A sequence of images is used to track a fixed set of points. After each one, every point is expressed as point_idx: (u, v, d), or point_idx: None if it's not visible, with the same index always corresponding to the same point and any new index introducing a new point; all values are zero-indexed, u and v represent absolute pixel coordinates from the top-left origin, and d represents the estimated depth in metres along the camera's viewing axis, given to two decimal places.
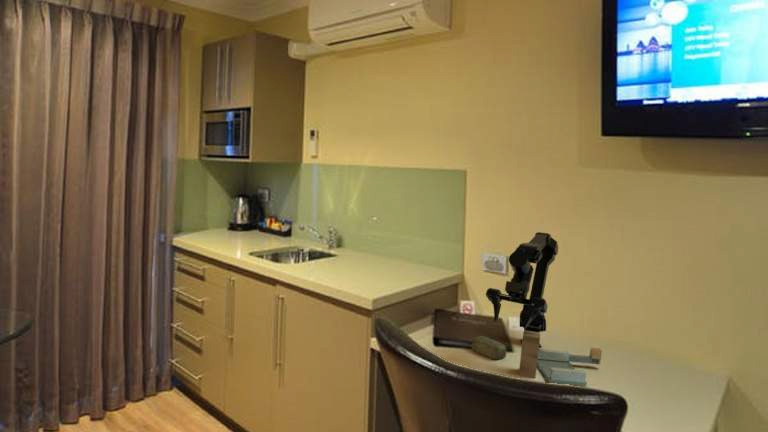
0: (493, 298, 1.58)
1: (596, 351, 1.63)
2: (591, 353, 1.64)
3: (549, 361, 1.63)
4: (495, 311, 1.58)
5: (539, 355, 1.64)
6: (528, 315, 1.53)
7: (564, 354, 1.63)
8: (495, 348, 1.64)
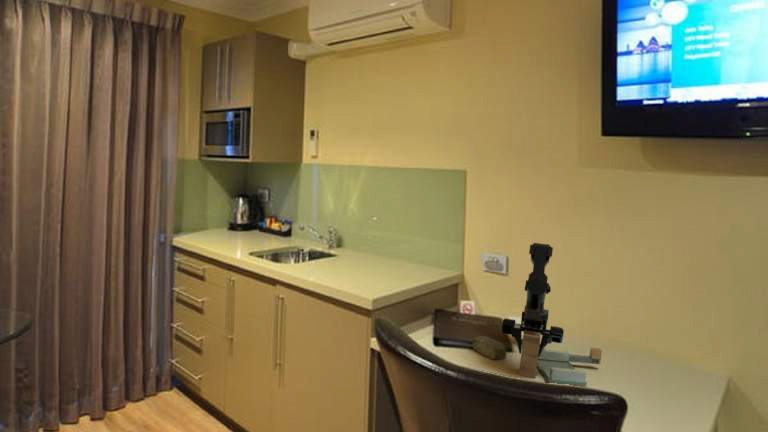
0: (517, 329, 1.57)
1: (596, 351, 1.63)
2: (591, 353, 1.64)
3: (549, 361, 1.63)
4: (519, 342, 1.55)
5: None
6: (542, 343, 1.54)
7: (564, 354, 1.63)
8: (494, 348, 1.64)
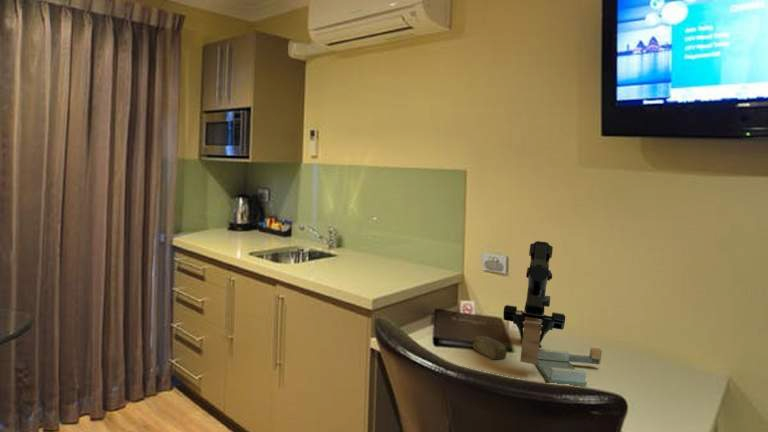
0: (518, 315, 1.56)
1: (596, 351, 1.63)
2: (591, 353, 1.64)
3: (549, 361, 1.63)
4: (521, 328, 1.55)
5: (539, 355, 1.64)
6: (543, 329, 1.53)
7: (564, 354, 1.63)
8: (494, 348, 1.64)
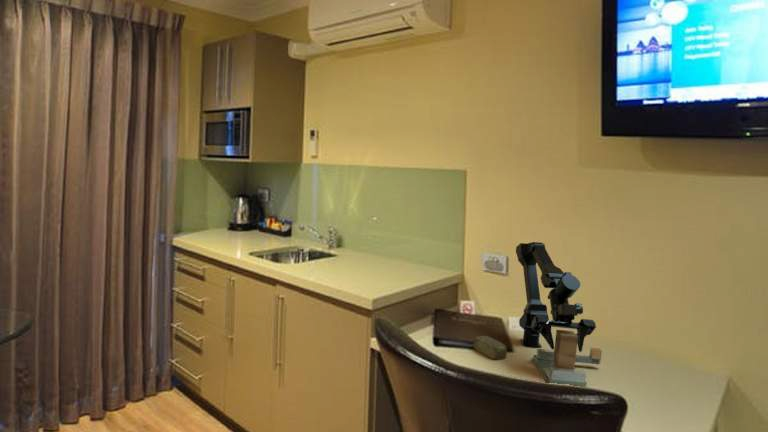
0: (547, 324, 1.54)
1: (596, 351, 1.63)
2: (591, 353, 1.64)
3: (549, 361, 1.63)
4: (551, 338, 1.53)
5: (539, 355, 1.64)
6: (581, 337, 1.53)
7: None
8: (494, 348, 1.64)
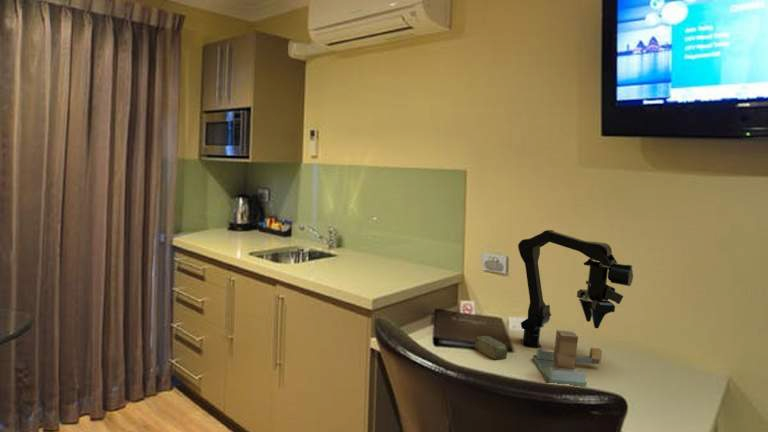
0: None
1: (596, 351, 1.63)
2: (591, 353, 1.64)
3: (549, 361, 1.63)
4: None
5: (539, 355, 1.64)
6: None
7: None
8: (494, 347, 1.64)
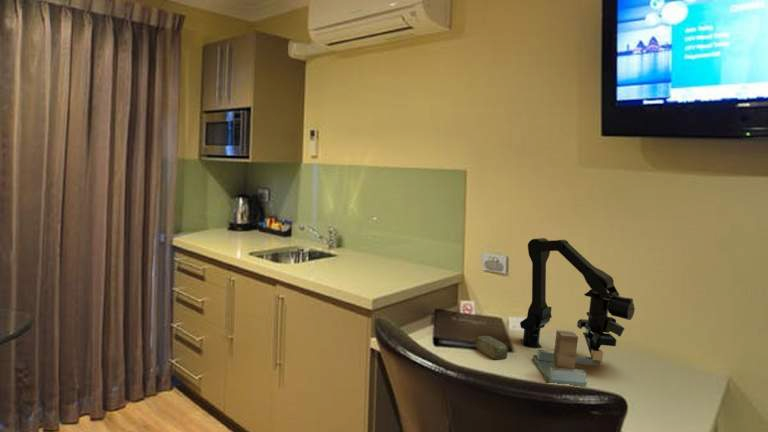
0: None
1: (597, 352, 1.62)
2: (592, 354, 1.63)
3: (549, 361, 1.63)
4: None
5: (540, 356, 1.63)
6: None
7: None
8: (494, 347, 1.64)
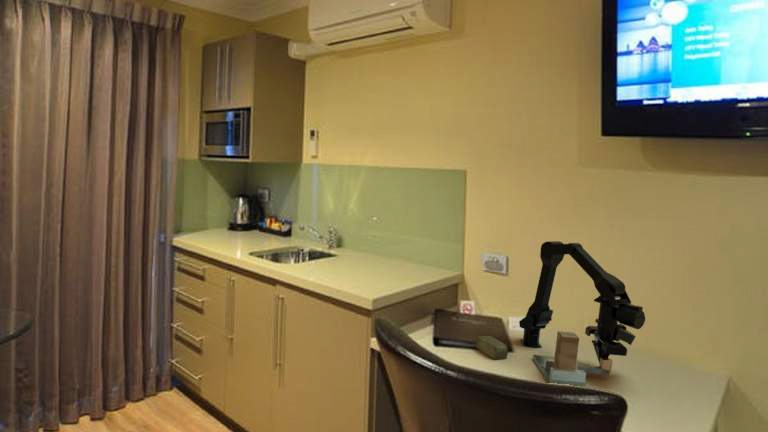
0: None
1: (606, 361, 1.54)
2: (601, 363, 1.55)
3: None
4: None
5: (546, 365, 1.55)
6: None
7: None
8: (494, 347, 1.64)
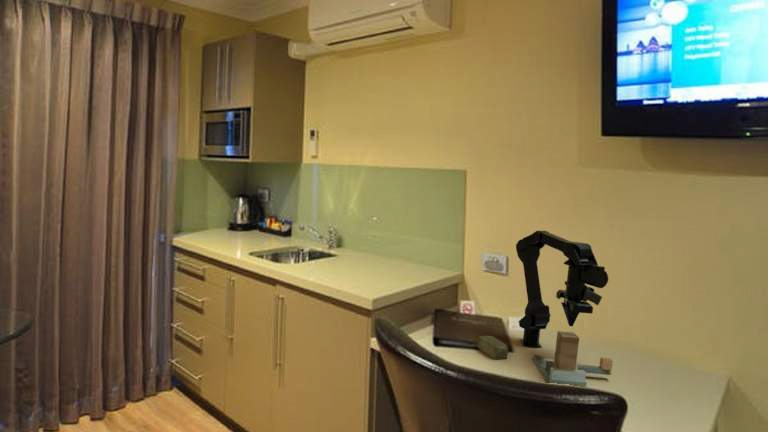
0: None
1: (606, 361, 1.54)
2: (601, 363, 1.55)
3: None
4: None
5: (546, 365, 1.55)
6: None
7: None
8: (494, 347, 1.65)
